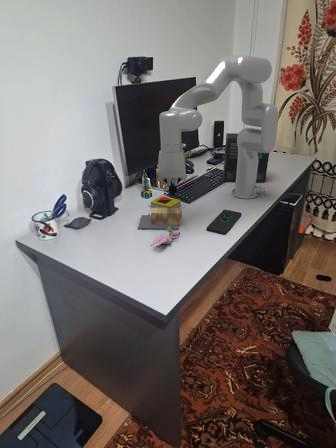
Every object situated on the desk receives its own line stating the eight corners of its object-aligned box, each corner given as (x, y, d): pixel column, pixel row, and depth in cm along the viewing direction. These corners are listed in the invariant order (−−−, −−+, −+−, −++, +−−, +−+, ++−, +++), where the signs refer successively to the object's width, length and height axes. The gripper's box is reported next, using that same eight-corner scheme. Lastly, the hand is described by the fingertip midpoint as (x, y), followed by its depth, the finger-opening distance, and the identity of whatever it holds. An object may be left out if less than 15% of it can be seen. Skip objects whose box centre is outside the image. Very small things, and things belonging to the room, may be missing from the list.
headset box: (262, 176, 177) (268, 129, 165) (266, 183, 166) (272, 134, 154) (222, 175, 179) (225, 129, 167) (223, 182, 168) (227, 134, 157)
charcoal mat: (179, 216, 131) (179, 215, 131) (178, 230, 121) (178, 228, 120) (141, 216, 132) (141, 214, 132) (137, 229, 122) (137, 228, 121)
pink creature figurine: (169, 235, 120) (147, 247, 108) (170, 220, 118) (148, 231, 106) (183, 239, 117) (162, 252, 105) (185, 224, 115) (163, 235, 103)
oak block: (181, 208, 126) (152, 207, 126) (181, 213, 121) (151, 212, 122) (181, 219, 128) (152, 218, 129) (181, 224, 123) (151, 224, 124)
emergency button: (158, 192, 146) (185, 198, 139) (158, 200, 148) (185, 207, 141) (146, 198, 140) (174, 205, 132) (147, 207, 142) (174, 214, 134)
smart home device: (242, 212, 131) (225, 232, 116) (242, 216, 132) (225, 236, 116) (223, 208, 135) (205, 227, 119) (223, 212, 135) (205, 231, 120)
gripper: (191, 144, 115) (192, 190, 124) (151, 145, 116) (155, 190, 125) (191, 149, 108) (192, 197, 117) (149, 150, 110) (153, 198, 118)
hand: (172, 194), depth 121 cm, fingers closed
